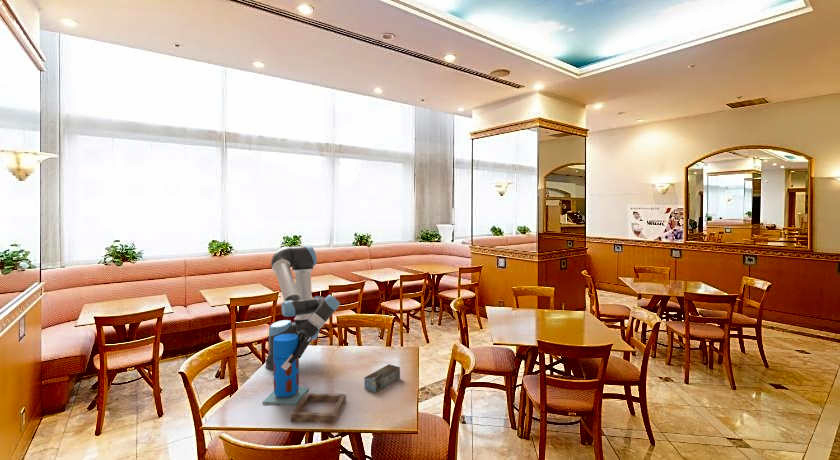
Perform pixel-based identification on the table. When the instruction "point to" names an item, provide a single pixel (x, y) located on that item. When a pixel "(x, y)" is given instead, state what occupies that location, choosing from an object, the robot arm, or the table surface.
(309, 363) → the table surface
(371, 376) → the beverage carton
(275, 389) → the thermos
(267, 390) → the table surface
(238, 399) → the table surface
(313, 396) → the dock
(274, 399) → the mat
